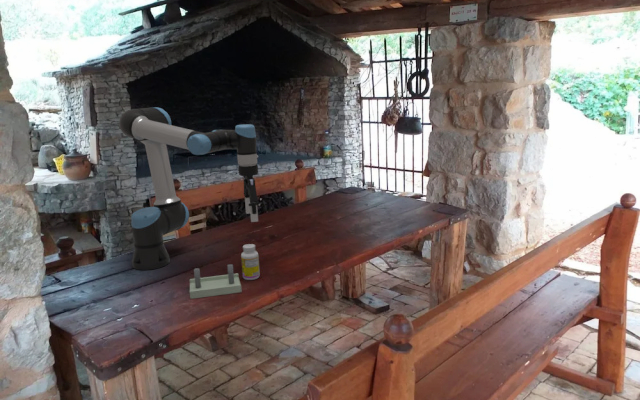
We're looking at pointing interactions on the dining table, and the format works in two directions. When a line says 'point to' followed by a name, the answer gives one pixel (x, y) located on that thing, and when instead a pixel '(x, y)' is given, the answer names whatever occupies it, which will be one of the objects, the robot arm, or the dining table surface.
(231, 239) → the dining table surface
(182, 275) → the dining table surface
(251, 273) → the supplement bottle
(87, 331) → the dining table surface
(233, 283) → the tray
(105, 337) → the dining table surface
